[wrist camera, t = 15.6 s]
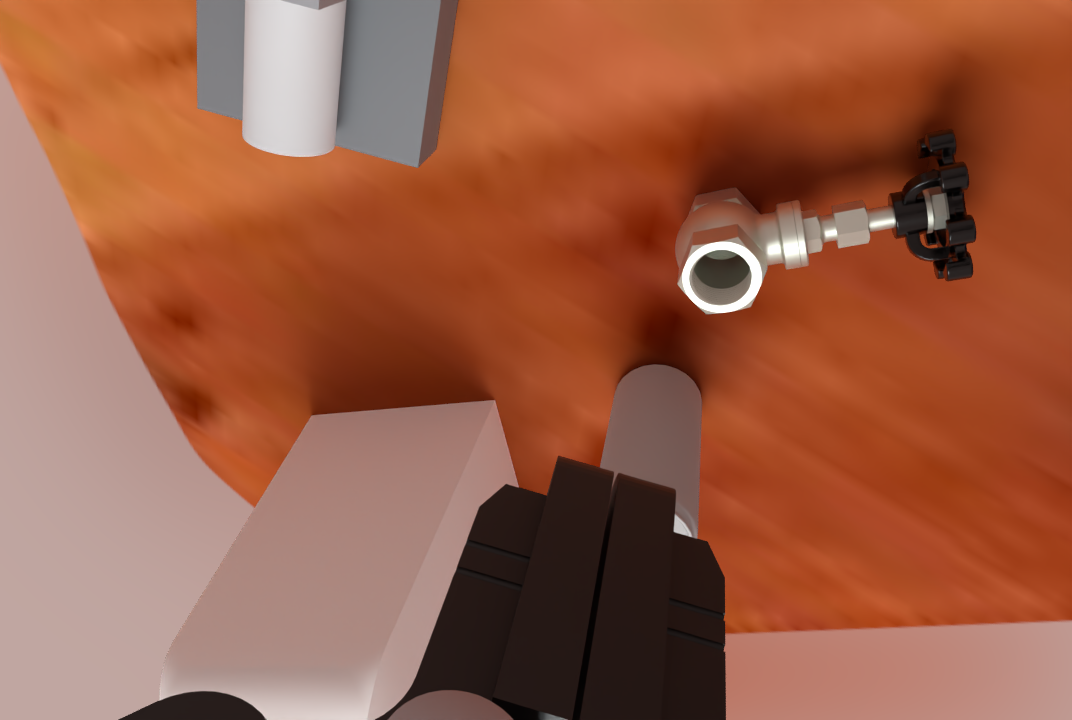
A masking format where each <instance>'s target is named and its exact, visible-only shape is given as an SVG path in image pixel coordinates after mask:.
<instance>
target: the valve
mask: <svg viewBox="0 0 1072 720" xmlns="http://www.w3.org/2000/svg"><path fill="white" fill-rule="evenodd" d="M917 153H918V158H919V159H921V158H926V157H930V158H929V161H928V167H927V172H925V173H922V174H919V175H917V176H915V177H914V178H912V179H911V180H910V181H908V182H907V183H906V185H905V186H904V188H903V190H902V191H900V192H895V193H890V194H889V196H888V206H883V207H878V208H872V209H866V205H865V203H864V202H863V201H862V200H859V201H854V202H849V203H844V204H839V205H833V206H832V214H831V215H825V216H819V215H818V214H817V211H816V210H815V209H813V210H807V211H801V206H800V202H799V200H795V201H789V202H784V203H779V204H776V211H775V212H772V213H766V214H761V215H760V213H759V212H758V211H757V210H756V209H755V208H754V207H753V206H752V205H751V203H750V202H749V201H748V200H747V199H746V198H745V197H744V196H743V195H742V194H741V192H740V191H739V190H738V189H737V188H736V187H734V188H728V189H723V190H718V191H714V192H709V193H704V194H699V195H696V196H695V199H694V201H693V204H692V207H691V209H690V212H689V215H688V217H687V219H686V220H685V221H684V223H683V224H682V226H681V228H680V230H679V232H678V235H677V239H676V246H675V253H676V259H677V263H678V266H679V274H678V286H679V287H680V288H681V289H682V290H683V292H684V293H685V294H686V295H687V296H688V297H689V298H690V299H691V300H692V301H693V302H694V303H695V304H696V305H697V306H698V307H699V308H700V309H701V310H702V311H703V312H704V313H706V314H717V313H725V312H731V311H736V310H741V309H745V308H748V307H751V305H752V303H753V301H754V299H755V297H756V295H757V293H758V291H759V288H760V286H761V284H762V281H763V279H764V276H765V274H766V271H767V266H768V265H773V264H779V263H783V264H785V267H786V269H793V268H798V267H804V266H808V265H809V258H808V254H809V253H814V252H820V251H821V250H822V245H823V244H824V243H825V242H829V241H834V240H836V242H837V245H838V248H843V247H848V246H854V245H859V244H865V243H869V240H870V232H873V231H879V230H884V229H890V228H892V232H893V235H894V237H895V238H896V239H899V238H904V237H905V241H906V245H907V247H908V249H909V251H910V252H911V253H912V254H913V255H914V256H915V257H917V258H919V259H920V260H924V261H930V262H932V261H934V262H933V266H934V272H935V275H936V278H937V279H943V278H945V280H946V281H953V280H960V279H966V278H971V277H972V275H973V263H972V259H971V255H970V253H969V252H968V251H967V248H966V244H968V243H973V242H975V240H976V226H975V222H974V219H973V217H972V216H971V215H967V213H966V208H965V201H964V190H967V189H968V187H969V174H968V169H967V166H966V164H965V163H964V162H958V163H955V160H954V155H955V154H956V139H955V135H954V132H953V130H952V129H946V130H941V131H936V132H932V133H927V134H926V135H925V138H922V139H919V140H918V141H917ZM921 234H924V239H925V243H926V245H927V246H930V245H936V244H937V246H938V248H926V247H924V246H923V245H922V243H921V241H920V235H921Z"/></svg>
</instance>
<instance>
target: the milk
mask: <svg viewBox="0 0 1072 720" xmlns="http://www.w3.org/2000/svg"><path fill="white" fill-rule="evenodd" d="M505 484H508V485H512V486H515V487H519V486H518V482H517V478H516V475H515V471H514V468H513V464H512V460H511V457H510V453H509V449H508V446H507V442H506V438H505V435H504V431H503V427H502V424H501V420H500V416H499V413H498V409H497V406H496V402H495V400H489V401H477V402H465V403H453V404H441V405H429V406H417V407H405V408H393V409H382V410H370V411H358V412H346V413H334V414H322V415H312V416H311V417H310V419H309V420H308V422H307V424H306V425H305V427H304V429H303V430H302V432H301V434H300V435H299V437H298V438H297V440H296V442H295V443H294V445H293V447H292V448H291V450H290V451H289V453H288V455H287V456H286V458H285V460H284V461H283V463H282V465H281V466H280V468H279V469H278V471H277V473H276V474H275V476H274V478H273V479H272V481H271V483H270V484H269V486H268V487H267V489H266V491H265V492H264V494H263V496H262V497H261V499H260V500H259V502H258V504H257V505H256V507H255V509H254V510H253V512H252V514H251V515H250V517H249V518H248V520H247V522H246V523H245V525H244V527H243V528H242V530H241V532H240V533H239V535H238V536H237V538H236V540H235V541H234V543H233V545H232V546H231V548H230V550H229V551H228V553H227V555H226V556H225V558H224V559H223V561H222V563H221V564H220V566H219V567H218V569H217V571H216V572H215V574H214V576H213V577H212V579H211V581H210V582H209V584H208V585H207V587H206V589H205V590H204V592H203V594H202V595H201V597H200V599H199V600H198V602H197V603H196V605H195V607H194V608H193V610H192V612H191V613H190V615H189V616H188V618H187V620H186V621H185V623H184V625H183V626H182V628H181V630H180V631H179V633H178V634H177V636H176V638H175V639H174V641H173V643H172V645H171V647H170V649H169V651H168V653H167V655H166V658H165V662H164V666H163V669H162V674H161V683H160V700H162V699H165V698H167V697H170V696H174V695H178V694H182V693H186V692H195V691H215V692H220V693H226V694H230V695H233V696H235V697H238V698H241V699H243V700H244V701H246V702H248V703H249V704H251V705H253V706H254V707H255V708H256V709H257V710H258V711H260V712H261V713H262V714H263V716H264V717H265V718H266V720H375V719H377V718H379V717H380V716H382V715H384V714H385V713H386V712H388V711H389V710H390V709H392V708H393V707H394V706H395V705H396V704H397V703H398V702H399V701H400V700H401V699H402V698H403V697H404V696H405V694H406V693H407V692H408V690H409V689H410V687H411V686H412V683H413V681H414V679H415V677H416V675H417V672H418V670H419V667H420V664H421V661H422V659H423V656H424V653H425V651H426V648H427V645H428V643H429V640H430V637H431V635H432V632H433V629H434V627H435V624H436V621H437V619H438V616H439V613H440V611H441V608H442V605H443V602H444V600H445V597H446V594H447V592H448V589H449V586H450V584H451V581H452V578H453V576H454V573H455V572H456V568H457V565H458V562H459V560H460V557H461V554H462V552H463V549H464V546H465V545H466V542H467V538H468V535H469V533H470V530H471V527H472V525H473V522H474V519H475V517H476V514H477V511H478V509H479V506H481V505H482V504H483V503H484V502H485V501H486V500H488V499H489V498H490V497H491V496H492V495H493V494H495V493H496V492H497V491H498V490H499V489H500V488H502V487H503V486H504V485H505Z"/></svg>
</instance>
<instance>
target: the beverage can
mask: <svg viewBox="0 0 1072 720" xmlns="http://www.w3.org/2000/svg"><path fill="white" fill-rule="evenodd" d="M701 417H702V399H701V394H700V391H699V389H698V387H697V386H696V384H695V382H694V381H693V380H692V379H691V378H690V377H689V376H688V375H687V374H685V373H683V372H682V371H680V370H678V369H676V368H673V367H670V366H667V365H656V364H653V365H646V366H642V367H639V368H637V369H634V370H632V371H631V372H629V373H628V374H627V375H625V376H624V377H623V378H622V380H621V381H620V383H619V384H618V385H617V388H616V391H615V395H614V400H613V405H612V410H611V415H610V420H609V425H608V430H607V435H606V440H605V445H604V451H603V455H602V460H601V465H600V468H603V469H607V470H610V471H614V478H613V484H614V481H615V478H616V476H617V474H618V473H622V474H625V475H629V476H632V477H636V478H639V479H643V480H646V481H650V482H653V483H657V484H660V485H664V486H667V487H671V488H674V489H675V490H676V506H675V521H674V532H676V533H679V534H683V535H686V536H690V537H693V538H696V539H697V534H698V510H699V479H700V448H701ZM613 484H612V486H613Z"/></svg>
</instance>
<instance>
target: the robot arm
mask: <svg viewBox="0 0 1072 720" xmlns="http://www.w3.org/2000/svg"><path fill="white" fill-rule="evenodd" d="M613 478H614V471H610V470H607V469H603V468H600V467H596V466H593V465H589V464H586V463H582V462H579V461H575V460H572V459H568V458H565V457H561V456H558V458H557V462H556V465H555V469H554V472H553V476H552V479H551V483H550V486H549V490H548V493H547V496H546V495H543V494H539V493H536V492H533V491H529V490H526V489H522V488H519V487H515V486H512V485H508V484H505V485H504V486H503V487H502V488H500V489H499V490H498V491H497V492H496V493H495V494H493V495H492V496H491V497H490V498H489V499H488V500H486V501H485V502H484V503H483V504H482V505H481V506H479V509H478V511H477V514H476V517H475V519H474V522H473V525H472V527H471V530H470V533H469V535H468V538H467V542H466V545H465V546H464V549H463V552H462V554H461V557H460V560H459V562H458V565H457V568H456V572H455V573H454V576H453V578H452V581H451V584H450V586H449V589H448V592H447V594H446V597H445V600H444V602H443V605H442V608H441V611H440V613H439V616H438V619H437V621H436V624H435V627H434V629H433V632H432V635H431V637H430V640H429V643H428V645H427V648H426V651H425V653H424V656H423V659H422V661H421V664H420V667H419V670H418V672H417V675H416V677H415V679H414V681H413V683H412V686H411V687H410V689H409V690H408V692H407V693H406V694H405V696H404V697H403V698H402V699H401V700H400V701H399V702H398V703H397V704H396V705H395V706H394V707H393V708H392V709H390V710H389V711H388V712H386V713H385V714H384V715H382V716H380V717H379V718H377V719H375V720H726V693H725V692H726V690H725V689H726V688H725V686H726V682H725V652H724V646H725V621H723V620H724V615H725V577H724V575H723V573H722V571H721V569H720V567H719V565H718V563H717V560H716V558H715V556H714V554H713V552H712V550H711V548H710V546H709V544H708V542H707V541H703V540H700V539H696V538H693V537H690V536H686V535H683V534H679V533H676V532H674V521H675V506H676V490H675V489H674V488H671V487H667V486H664V485H660V484H657V483H653V482H650V481H646V480H643V479H639V478H636V477H632V476H629V475H625V474H622V473H618V474H617V476H616V478H615V481H614V484H613ZM612 484H613V486H612ZM119 720H266V718H265V717H264V716H263V714H262V713H261V712H260V711H258V710H257V709H256V708H255V707H254V706H253V705H251V704H249V703H248V702H246V701H244V700H243V699H241V698H238V697H235V696H233V695H230V694H226V693H220V692H215V691H195V692H186V693H182V694H178V695H174V696H170V697H167V698H165V699H162V700H160V701H157V702H155V703H153V704H151V705H149V706H146V707H144V708H142V709H140V710H138V711H136V712H134V713H132V714H130V715H128V716H125V717H123V718H121V719H119Z"/></svg>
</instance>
